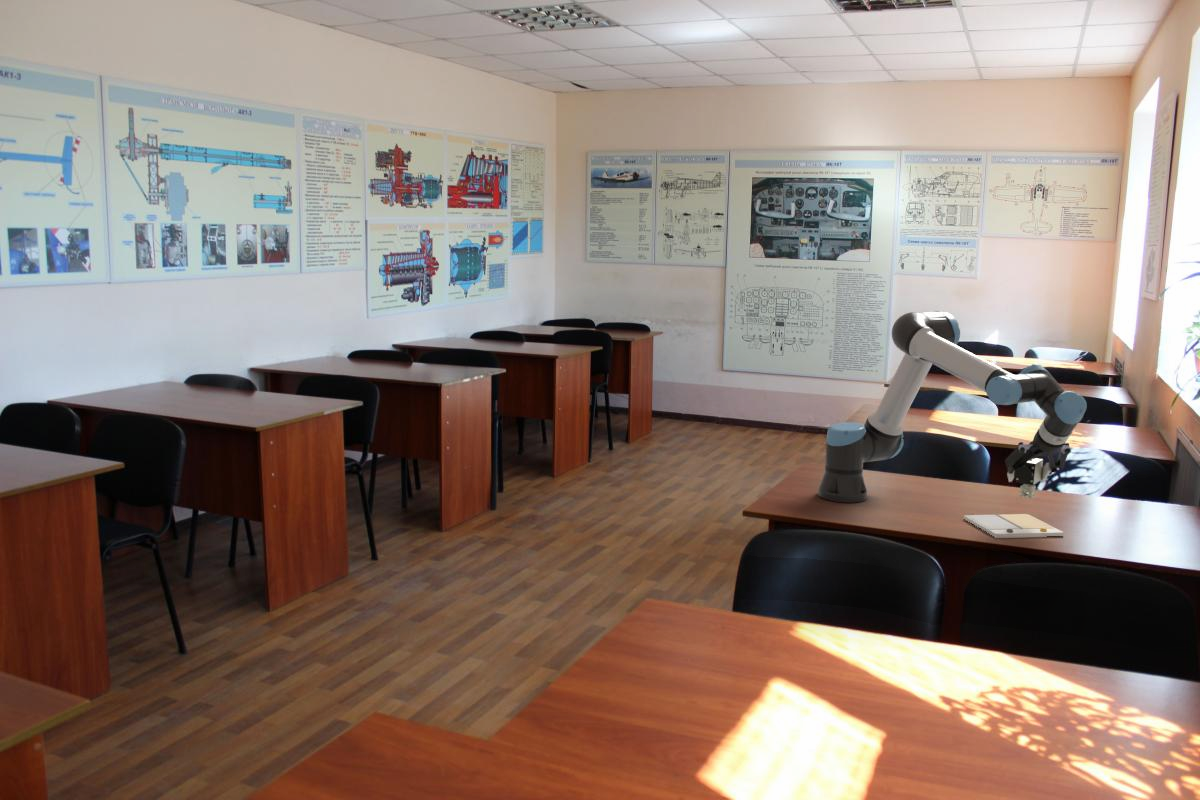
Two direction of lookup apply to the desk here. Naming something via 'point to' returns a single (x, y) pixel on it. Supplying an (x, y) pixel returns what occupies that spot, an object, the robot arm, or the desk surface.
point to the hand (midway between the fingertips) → (1025, 478)
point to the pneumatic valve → (1029, 476)
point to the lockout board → (1013, 526)
